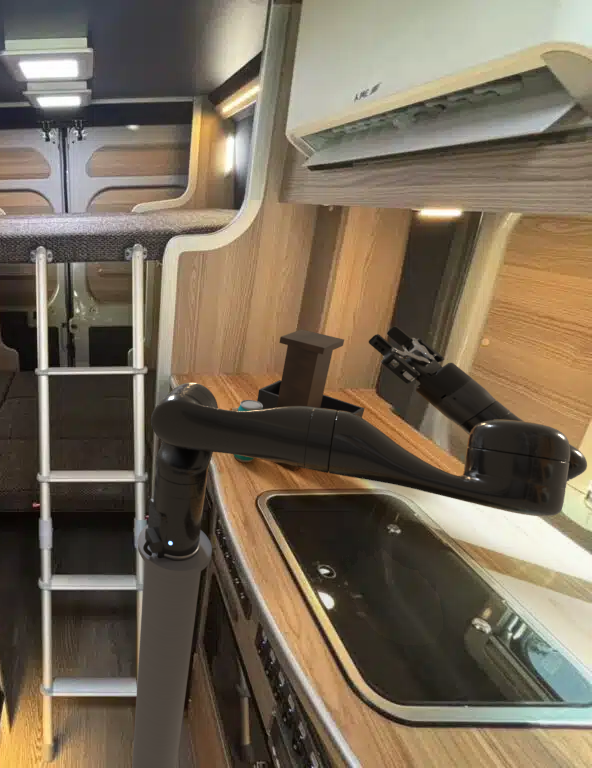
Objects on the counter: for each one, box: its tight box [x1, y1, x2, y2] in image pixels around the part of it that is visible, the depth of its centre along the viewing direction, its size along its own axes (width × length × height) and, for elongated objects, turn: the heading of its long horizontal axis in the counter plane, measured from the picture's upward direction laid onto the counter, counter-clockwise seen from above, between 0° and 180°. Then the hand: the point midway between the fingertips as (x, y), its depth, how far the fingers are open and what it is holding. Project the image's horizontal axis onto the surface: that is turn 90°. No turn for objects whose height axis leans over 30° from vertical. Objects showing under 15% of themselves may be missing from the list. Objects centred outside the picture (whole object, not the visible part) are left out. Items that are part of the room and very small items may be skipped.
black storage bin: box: [256, 379, 365, 418], centre depth 123 cm, size 23×10×13 cm, turn 38°
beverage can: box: [233, 399, 263, 463], centre depth 115 cm, size 6×6×15 cm
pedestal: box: [274, 328, 345, 472], centre depth 110 cm, size 10×9×32 cm
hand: (381, 333), depth 92 cm, fingers open, 8 cm apart
